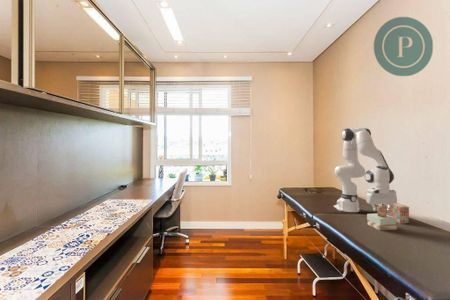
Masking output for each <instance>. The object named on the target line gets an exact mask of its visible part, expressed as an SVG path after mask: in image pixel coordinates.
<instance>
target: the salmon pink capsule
mask: <svg viewBox="0 0 450 300" xmlns="http://www.w3.org/2000/svg"><path fill="white" fill-rule="evenodd" d="M376 212H377V216H379V217H386V215H387V208H386V207H382V205H380V206H379V205H378V206H377V211H376Z"/></svg>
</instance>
